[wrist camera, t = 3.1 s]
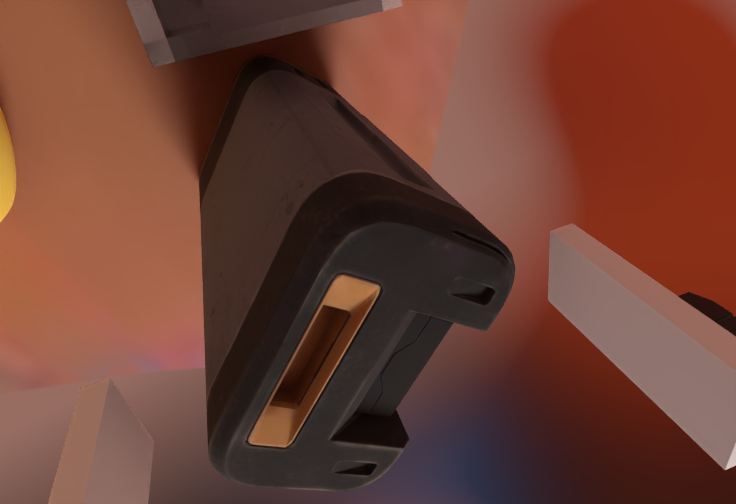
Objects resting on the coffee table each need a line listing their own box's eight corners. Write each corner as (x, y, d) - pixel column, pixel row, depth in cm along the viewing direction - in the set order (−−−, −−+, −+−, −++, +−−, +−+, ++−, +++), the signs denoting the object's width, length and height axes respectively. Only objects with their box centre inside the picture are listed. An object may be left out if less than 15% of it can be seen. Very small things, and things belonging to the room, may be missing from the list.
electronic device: (282, 223, 32) (378, 502, 15) (190, 192, 29) (188, 494, 13) (345, 90, 29) (548, 262, 12) (249, 42, 26) (347, 181, 10)
